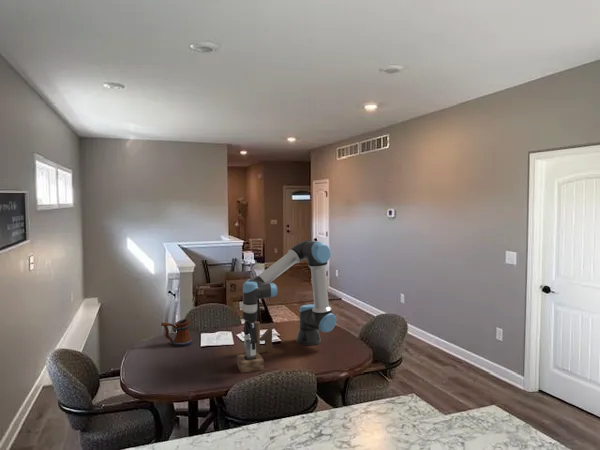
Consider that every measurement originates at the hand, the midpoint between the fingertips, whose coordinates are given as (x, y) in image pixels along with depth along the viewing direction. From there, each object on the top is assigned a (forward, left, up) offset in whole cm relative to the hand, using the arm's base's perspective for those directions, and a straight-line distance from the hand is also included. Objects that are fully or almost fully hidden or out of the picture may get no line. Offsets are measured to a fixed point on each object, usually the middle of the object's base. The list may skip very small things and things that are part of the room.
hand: (250, 350), depth 225 cm
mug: (+34, -48, -9) cm, 60 cm away
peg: (0, 0, -9) cm, 9 cm away
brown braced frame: (-12, -19, -9) cm, 24 cm away
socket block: (0, 0, -9) cm, 9 cm away
